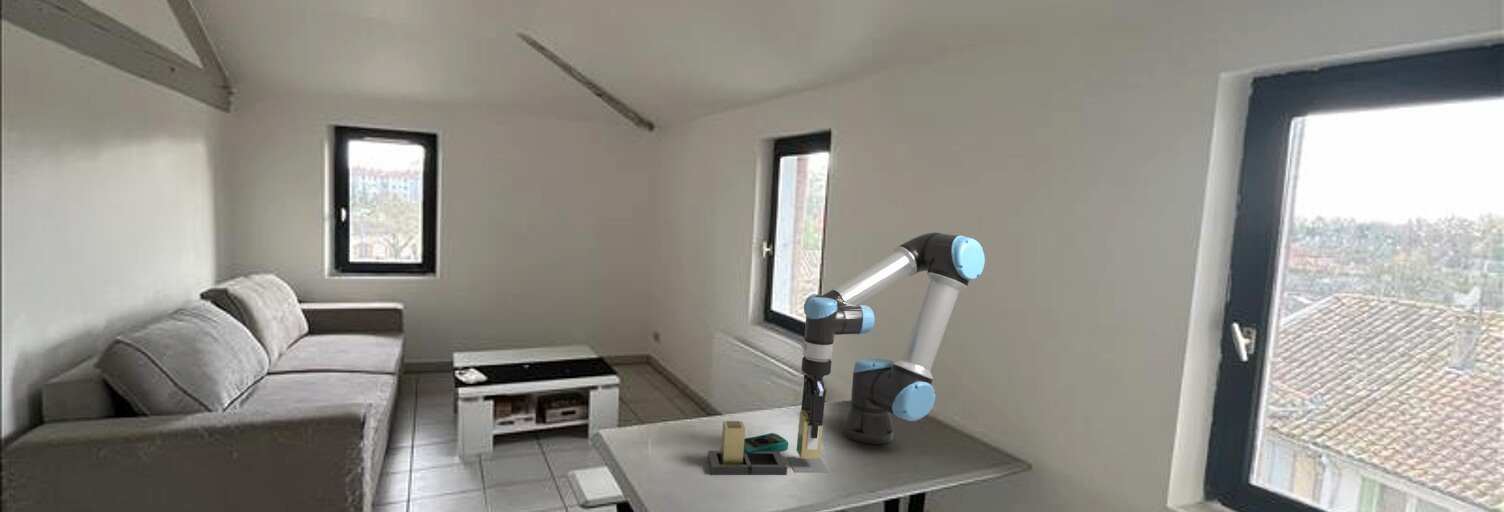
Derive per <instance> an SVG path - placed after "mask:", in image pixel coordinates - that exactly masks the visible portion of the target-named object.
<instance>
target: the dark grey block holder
mask: <svg viewBox="0 0 1504 512" xmlns="http://www.w3.org/2000/svg"><path fill="white" fill-rule="evenodd" d="M780 452H781V451H780ZM780 452H779V451H753V452H746V451H744V452H743V465H721V464H720V457H721V450H707V462H708V466H709V470H710V475H711V476H787V475H788V474H787V473H788V466H787V464H786V462H785V460H784V458H783V456H782V454H781V453H780Z"/></svg>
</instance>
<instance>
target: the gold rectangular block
mask: <svg viewBox="0 0 1504 512" xmlns="http://www.w3.org/2000/svg"><path fill="white" fill-rule="evenodd" d="M721 431H722V432H721V443H720V446H721V447H720V451H721V457H720V464H721V465H743V452H744V439H746V427H745V425H744V423H743V421H740V420H739V421H738V420H726V421H725V420H722V430H721Z"/></svg>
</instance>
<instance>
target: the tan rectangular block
mask: <svg viewBox="0 0 1504 512" xmlns="http://www.w3.org/2000/svg"><path fill="white" fill-rule="evenodd" d="M824 418H825V417H824V416H823V420H824ZM807 423H810V410H799V419H798V429H797V430H798V432H797V440H796V441H797V443H796V449H795V450H796V453H797V454H798V456H799V458H820V459H821V449H822V437H823V427H824V424H823V425H822V426H819V436H818V447H817V450H812V449H806V447H807V436H808V425H807Z"/></svg>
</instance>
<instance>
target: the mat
mask: <svg viewBox="0 0 1504 512" xmlns="http://www.w3.org/2000/svg"><path fill="white" fill-rule="evenodd" d="M786 459H787V461H788V462H789V464H790V466H791V468H792V469H793V472H794V473H803V474H804V473H805V474H808V473H813V474H814V473H817V474H818V473H823V474H824V473H830V471H829V470H828V467H826V465H825V464H824V462H823V460H822V459H821V457H820V458H801V457H800V456H799V457H797V456H796V457H787V458H786Z"/></svg>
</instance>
